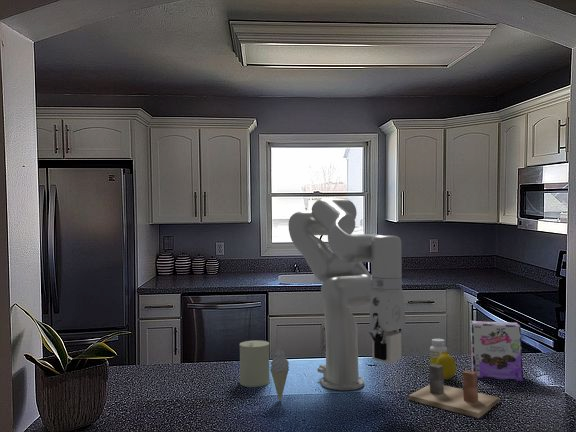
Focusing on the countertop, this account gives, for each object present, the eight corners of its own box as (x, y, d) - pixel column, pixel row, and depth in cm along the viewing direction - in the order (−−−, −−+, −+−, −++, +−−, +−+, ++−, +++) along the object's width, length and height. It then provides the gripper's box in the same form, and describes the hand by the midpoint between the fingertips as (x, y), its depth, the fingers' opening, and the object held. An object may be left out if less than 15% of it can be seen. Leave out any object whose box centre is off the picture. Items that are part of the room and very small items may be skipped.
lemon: (458, 383, 126) (457, 355, 127) (438, 382, 127) (437, 354, 128) (454, 377, 132) (453, 351, 132) (435, 376, 133) (434, 350, 133)
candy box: (473, 377, 131) (470, 323, 132) (471, 372, 137) (469, 320, 138) (524, 381, 127) (520, 325, 128) (520, 376, 132) (517, 321, 133)
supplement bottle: (446, 368, 142) (445, 338, 142) (450, 373, 136) (448, 341, 137) (429, 368, 142) (428, 337, 143) (432, 372, 137) (431, 341, 138)
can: (234, 385, 127) (234, 344, 128) (246, 376, 136) (246, 338, 137) (263, 388, 124) (263, 346, 125) (274, 378, 133) (273, 339, 134)
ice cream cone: (273, 405, 111) (272, 345, 112) (268, 398, 116) (267, 341, 117) (291, 402, 112) (290, 344, 113) (286, 396, 117) (285, 340, 118)
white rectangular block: (372, 359, 108) (372, 332, 108) (383, 354, 112) (383, 329, 112) (390, 363, 105) (390, 336, 105) (401, 359, 108) (401, 332, 109)
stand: (408, 400, 113) (407, 368, 114) (433, 387, 123) (432, 357, 124) (478, 418, 100) (477, 382, 101) (499, 402, 110) (497, 369, 111)
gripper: (380, 288, 100) (381, 367, 100) (416, 282, 112) (416, 352, 112) (354, 285, 105) (354, 360, 105) (391, 280, 118) (391, 347, 117)
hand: (386, 355), depth 108 cm, fingers closed on white rectangular block, 5 cm apart
